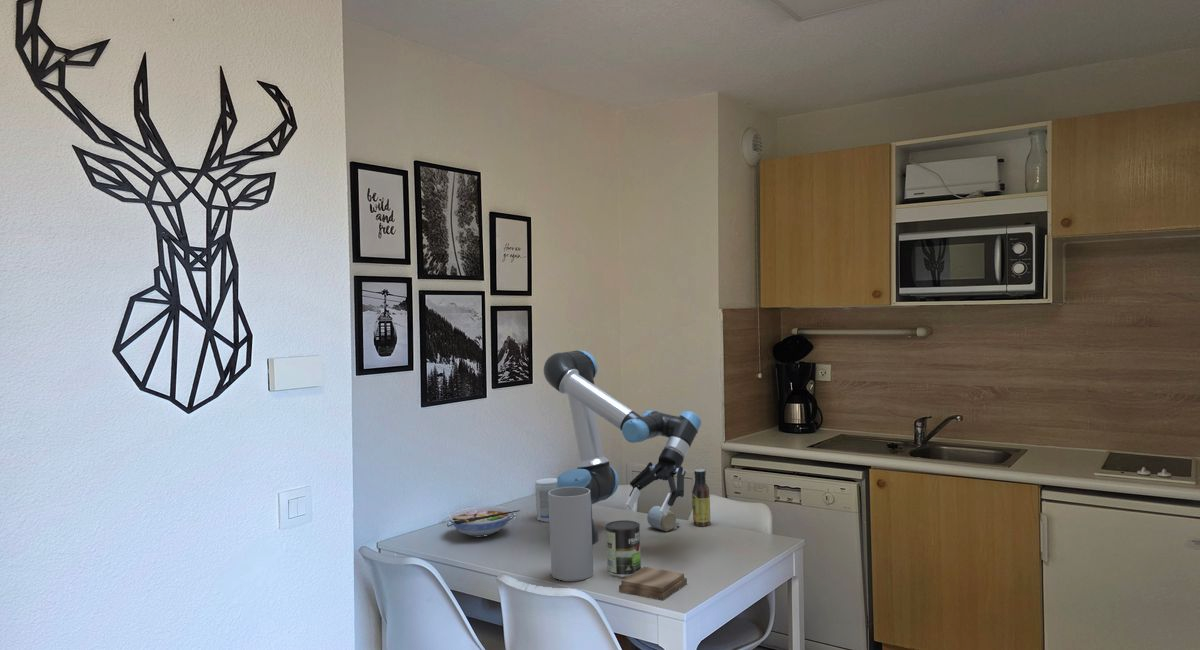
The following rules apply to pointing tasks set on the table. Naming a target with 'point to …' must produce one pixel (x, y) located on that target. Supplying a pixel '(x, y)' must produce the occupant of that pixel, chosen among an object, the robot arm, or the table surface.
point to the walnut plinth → (653, 582)
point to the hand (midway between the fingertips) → (645, 510)
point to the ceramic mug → (661, 519)
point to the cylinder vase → (570, 533)
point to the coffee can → (623, 548)
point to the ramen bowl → (480, 519)
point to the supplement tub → (544, 497)
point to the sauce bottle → (701, 499)
